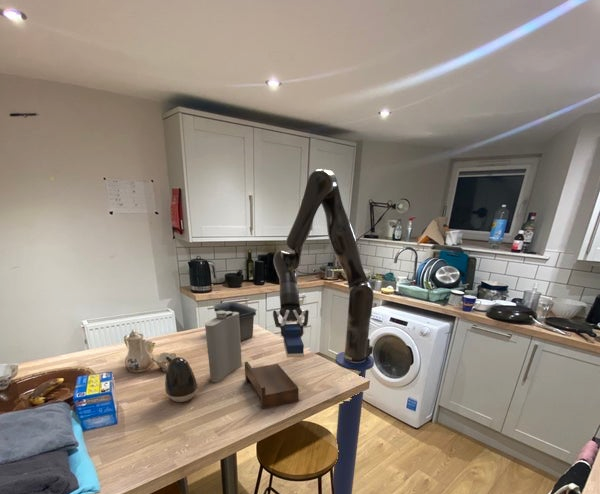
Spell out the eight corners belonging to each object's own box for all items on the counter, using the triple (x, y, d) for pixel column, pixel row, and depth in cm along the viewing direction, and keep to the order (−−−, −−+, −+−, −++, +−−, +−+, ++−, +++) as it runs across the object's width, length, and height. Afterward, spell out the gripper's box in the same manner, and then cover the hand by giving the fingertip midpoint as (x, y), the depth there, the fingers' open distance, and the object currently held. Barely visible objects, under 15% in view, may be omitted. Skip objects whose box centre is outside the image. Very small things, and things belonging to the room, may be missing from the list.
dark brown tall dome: (183, 387, 121) (178, 348, 115) (204, 395, 116) (200, 355, 110) (160, 400, 113) (152, 359, 107) (181, 409, 108) (175, 367, 102)
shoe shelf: (277, 374, 131) (277, 356, 128) (298, 400, 115) (298, 380, 111) (245, 381, 126) (244, 362, 123) (262, 409, 110) (261, 387, 106)
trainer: (283, 342, 130) (283, 324, 127) (298, 341, 131) (299, 323, 128) (287, 357, 117) (287, 338, 114) (303, 357, 118) (304, 337, 115)
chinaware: (185, 371, 136) (184, 332, 130) (147, 383, 123) (143, 340, 117) (147, 353, 150) (144, 317, 145) (108, 362, 138) (104, 323, 132)
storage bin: (260, 336, 167) (259, 309, 161) (236, 345, 156) (234, 316, 150) (233, 326, 180) (232, 300, 174) (209, 334, 169) (206, 306, 163)
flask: (234, 362, 141) (230, 304, 130) (243, 364, 139) (240, 306, 128) (207, 380, 126) (200, 317, 116) (217, 383, 124) (211, 319, 114)
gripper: (271, 292, 126) (273, 333, 120) (308, 291, 128) (313, 332, 122) (270, 301, 133) (272, 341, 127) (306, 301, 135) (310, 339, 129)
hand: (292, 336), depth 124 cm, fingers closed on trainer, 5 cm apart
